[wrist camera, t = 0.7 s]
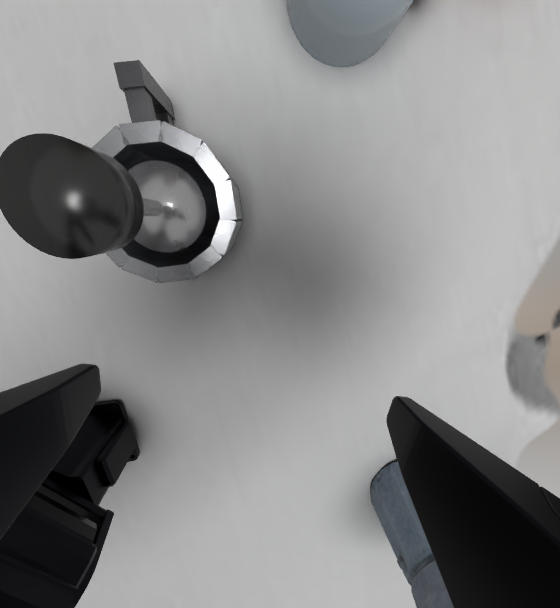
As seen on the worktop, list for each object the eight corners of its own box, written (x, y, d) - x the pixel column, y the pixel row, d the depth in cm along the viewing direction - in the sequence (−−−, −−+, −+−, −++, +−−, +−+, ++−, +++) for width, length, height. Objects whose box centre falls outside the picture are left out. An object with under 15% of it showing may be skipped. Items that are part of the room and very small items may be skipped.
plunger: (134, 255, 16) (7, 294, 8) (109, 167, 15) (-77, 106, 7) (214, 246, 16) (167, 275, 8) (198, 157, 15) (121, 86, 7)
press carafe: (143, 272, 21) (107, 289, 16) (98, 108, 17) (36, 67, 12) (248, 259, 21) (244, 272, 16) (225, 95, 17) (211, 50, 13)
